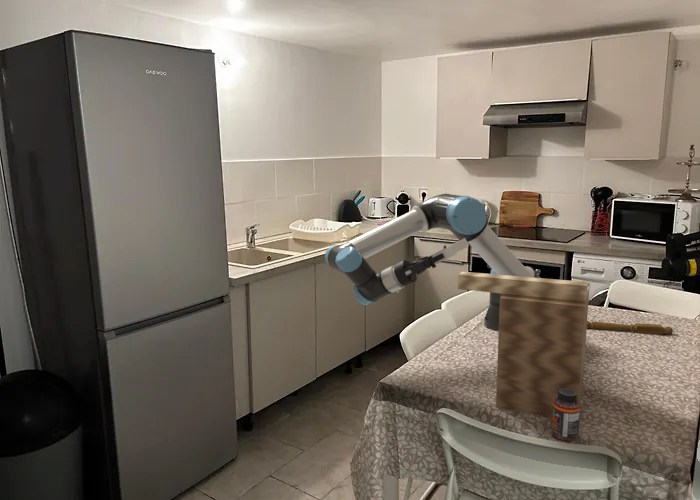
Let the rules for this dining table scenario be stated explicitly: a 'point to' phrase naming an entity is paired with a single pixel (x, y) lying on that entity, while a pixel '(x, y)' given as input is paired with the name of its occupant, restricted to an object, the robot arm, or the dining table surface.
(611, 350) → the dining table surface
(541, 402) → the brown wavy patterned box
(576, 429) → the supplement bottle
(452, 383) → the dining table surface
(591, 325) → the wooden spindle
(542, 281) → the beech bar
